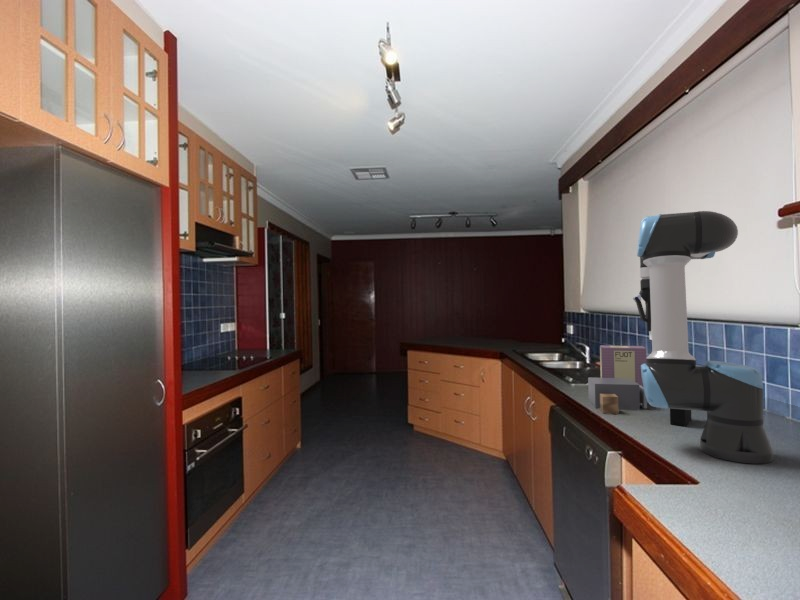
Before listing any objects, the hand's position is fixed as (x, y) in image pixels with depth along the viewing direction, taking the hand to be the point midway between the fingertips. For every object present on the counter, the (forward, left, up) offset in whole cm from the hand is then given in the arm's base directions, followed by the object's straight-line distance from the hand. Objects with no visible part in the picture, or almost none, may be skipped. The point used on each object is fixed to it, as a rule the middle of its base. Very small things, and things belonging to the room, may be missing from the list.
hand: (652, 339), depth 170 cm
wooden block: (-26, -1, -24) cm, 36 cm away
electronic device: (-18, -21, -25) cm, 37 cm away
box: (+5, +17, -25) cm, 30 cm away
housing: (-15, +6, -24) cm, 29 cm away
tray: (-13, +5, -24) cm, 28 cm away
